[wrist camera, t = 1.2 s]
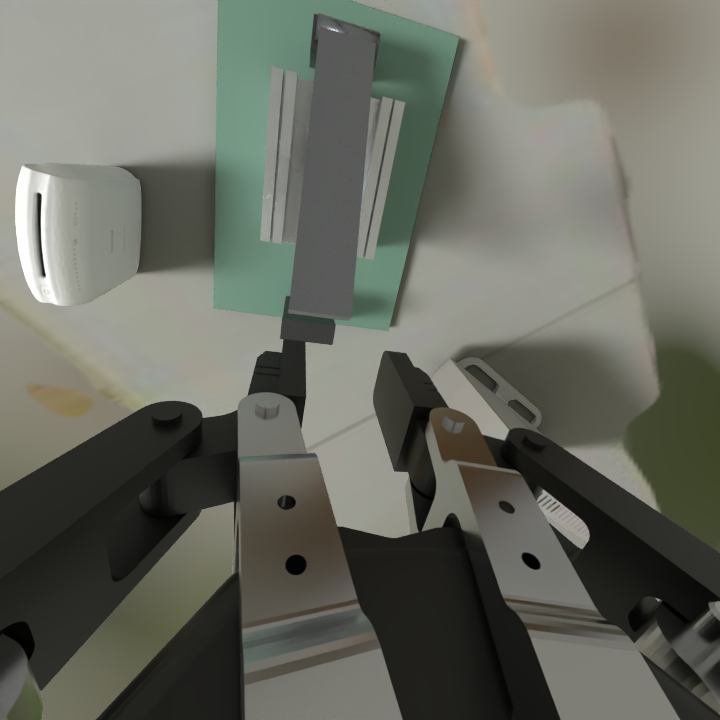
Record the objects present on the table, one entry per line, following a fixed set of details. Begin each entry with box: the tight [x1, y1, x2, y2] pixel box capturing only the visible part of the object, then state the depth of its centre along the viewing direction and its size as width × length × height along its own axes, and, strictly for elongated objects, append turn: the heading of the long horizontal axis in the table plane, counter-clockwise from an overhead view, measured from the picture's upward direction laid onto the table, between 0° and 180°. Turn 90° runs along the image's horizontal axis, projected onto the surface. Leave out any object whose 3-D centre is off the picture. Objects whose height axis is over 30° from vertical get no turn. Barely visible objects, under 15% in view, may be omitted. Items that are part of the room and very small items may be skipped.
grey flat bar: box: [288, 13, 380, 321], centre depth 24 cm, size 21×4×1 cm
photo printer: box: [15, 163, 142, 306], centre depth 29 cm, size 10×4×12 cm, turn 163°
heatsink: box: [260, 14, 405, 345], centre depth 32 cm, size 24×10×7 cm, turn 169°
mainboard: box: [214, 0, 459, 331], centre depth 35 cm, size 28×20×1 cm
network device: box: [430, 357, 589, 542], centre depth 43 cm, size 26×9×20 cm, turn 49°
